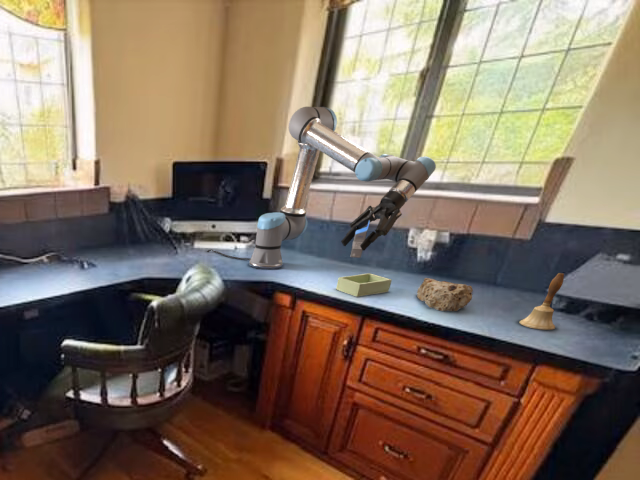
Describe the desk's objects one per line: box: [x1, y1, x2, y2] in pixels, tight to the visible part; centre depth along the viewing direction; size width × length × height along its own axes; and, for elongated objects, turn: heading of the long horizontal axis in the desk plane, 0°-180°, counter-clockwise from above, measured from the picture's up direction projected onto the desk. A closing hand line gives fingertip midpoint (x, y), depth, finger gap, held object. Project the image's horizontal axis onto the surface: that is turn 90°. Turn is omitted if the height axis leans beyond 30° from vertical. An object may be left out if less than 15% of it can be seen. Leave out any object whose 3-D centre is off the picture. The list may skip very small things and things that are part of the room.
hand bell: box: [519, 272, 565, 331], centre depth 125 cm, size 8×8×16 cm
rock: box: [416, 277, 474, 312], centre depth 147 cm, size 21×14×10 cm
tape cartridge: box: [350, 220, 371, 259], centre depth 157 cm, size 9×4×12 cm, turn 154°
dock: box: [335, 273, 392, 298], centre depth 163 cm, size 11×16×5 cm
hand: (352, 245), depth 158 cm, fingers closed on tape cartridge, 8 cm apart
